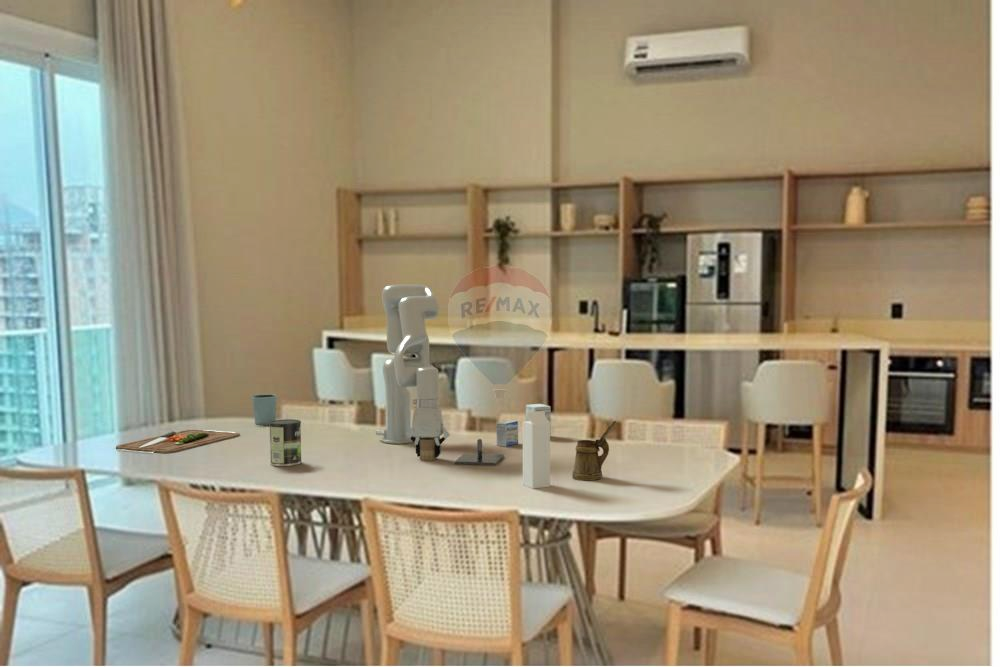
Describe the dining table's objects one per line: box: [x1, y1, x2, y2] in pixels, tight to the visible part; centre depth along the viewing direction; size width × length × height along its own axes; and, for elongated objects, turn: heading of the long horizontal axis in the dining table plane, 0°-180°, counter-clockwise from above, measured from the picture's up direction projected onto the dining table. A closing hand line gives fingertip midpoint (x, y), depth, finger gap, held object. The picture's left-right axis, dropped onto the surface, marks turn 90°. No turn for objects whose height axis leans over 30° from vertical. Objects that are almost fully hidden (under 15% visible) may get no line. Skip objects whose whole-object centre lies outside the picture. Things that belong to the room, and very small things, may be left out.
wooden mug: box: [571, 420, 617, 482], centre depth 261 cm, size 9×14×18 cm, turn 71°
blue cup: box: [251, 393, 277, 426], centre depth 368 cm, size 10×10×12 cm
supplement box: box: [525, 403, 552, 439], centre depth 331 cm, size 7×7×13 cm
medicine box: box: [495, 419, 519, 448], centre depth 316 cm, size 8×4×9 cm, turn 143°
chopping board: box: [115, 429, 241, 455], centre depth 325 cm, size 45×27×3 cm, turn 158°
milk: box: [522, 411, 551, 490], centre depth 251 cm, size 6×6×22 cm
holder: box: [454, 438, 505, 467], centre depth 288 cm, size 14×14×7 cm
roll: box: [419, 437, 438, 462], centre depth 291 cm, size 6×6×7 cm
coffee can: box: [269, 418, 302, 467], centre depth 285 cm, size 10×10×14 cm
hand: (428, 455), depth 291 cm, fingers closed on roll, 5 cm apart
